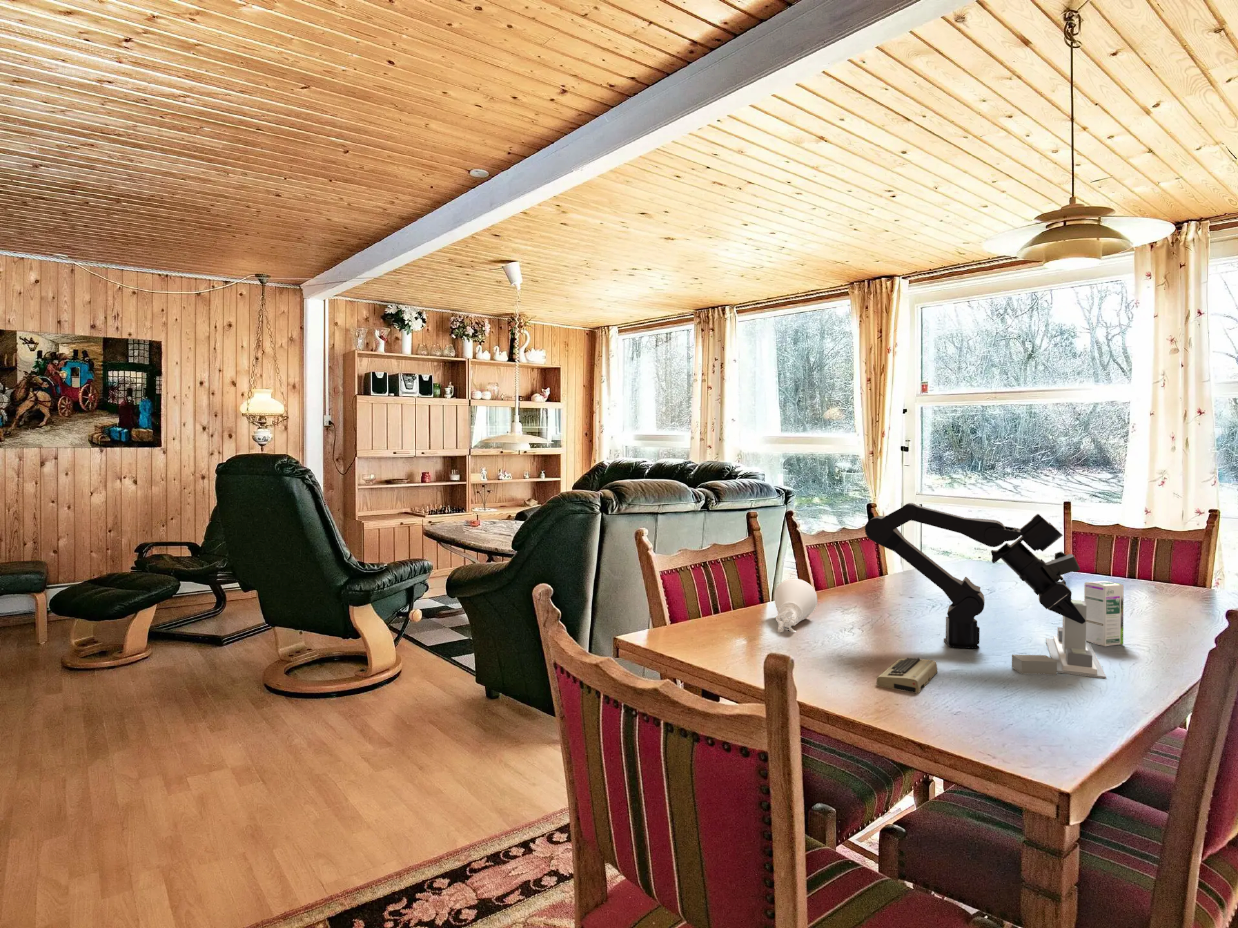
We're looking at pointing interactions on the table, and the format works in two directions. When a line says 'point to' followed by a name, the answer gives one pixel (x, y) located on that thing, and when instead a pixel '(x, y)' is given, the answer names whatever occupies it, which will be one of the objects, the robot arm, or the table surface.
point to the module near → (1078, 657)
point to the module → (1074, 629)
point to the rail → (1062, 666)
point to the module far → (1059, 634)
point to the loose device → (1034, 664)
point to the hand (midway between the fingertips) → (1081, 617)
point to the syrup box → (1104, 612)
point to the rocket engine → (794, 602)
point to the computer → (908, 674)
